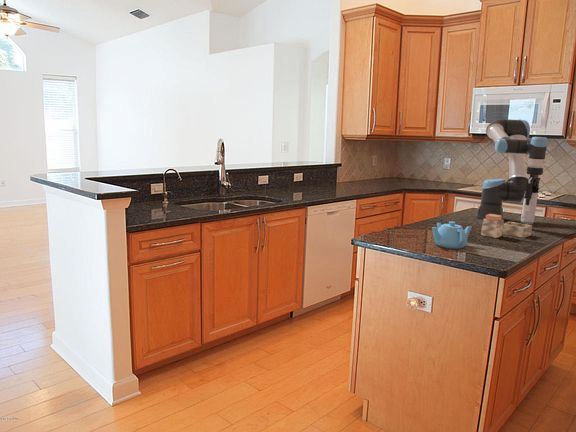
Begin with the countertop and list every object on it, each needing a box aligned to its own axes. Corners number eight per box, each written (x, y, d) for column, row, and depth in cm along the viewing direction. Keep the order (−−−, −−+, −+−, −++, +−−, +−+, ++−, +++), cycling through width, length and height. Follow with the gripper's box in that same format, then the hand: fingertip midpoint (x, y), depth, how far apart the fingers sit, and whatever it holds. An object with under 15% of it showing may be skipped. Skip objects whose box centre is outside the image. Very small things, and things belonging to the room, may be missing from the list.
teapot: (428, 246, 204) (430, 222, 202) (435, 239, 217) (437, 216, 215) (464, 251, 197) (467, 227, 195) (469, 244, 210) (472, 221, 208)
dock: (480, 235, 230) (482, 219, 228) (497, 229, 245) (499, 214, 244) (515, 241, 218) (517, 225, 217) (530, 235, 234) (533, 219, 233)
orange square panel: (485, 220, 228) (485, 215, 228) (489, 219, 232) (490, 213, 232) (496, 222, 224) (497, 216, 224) (501, 221, 228) (501, 215, 228)
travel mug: (520, 223, 247) (525, 186, 243) (520, 220, 253) (526, 184, 249) (533, 224, 244) (539, 187, 240) (533, 222, 250) (539, 185, 246)
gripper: (537, 168, 233) (530, 213, 238) (548, 166, 247) (542, 209, 252) (521, 167, 238) (515, 211, 243) (533, 165, 252) (527, 207, 257)
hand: (529, 210), depth 247 cm, fingers closed on travel mug, 6 cm apart
